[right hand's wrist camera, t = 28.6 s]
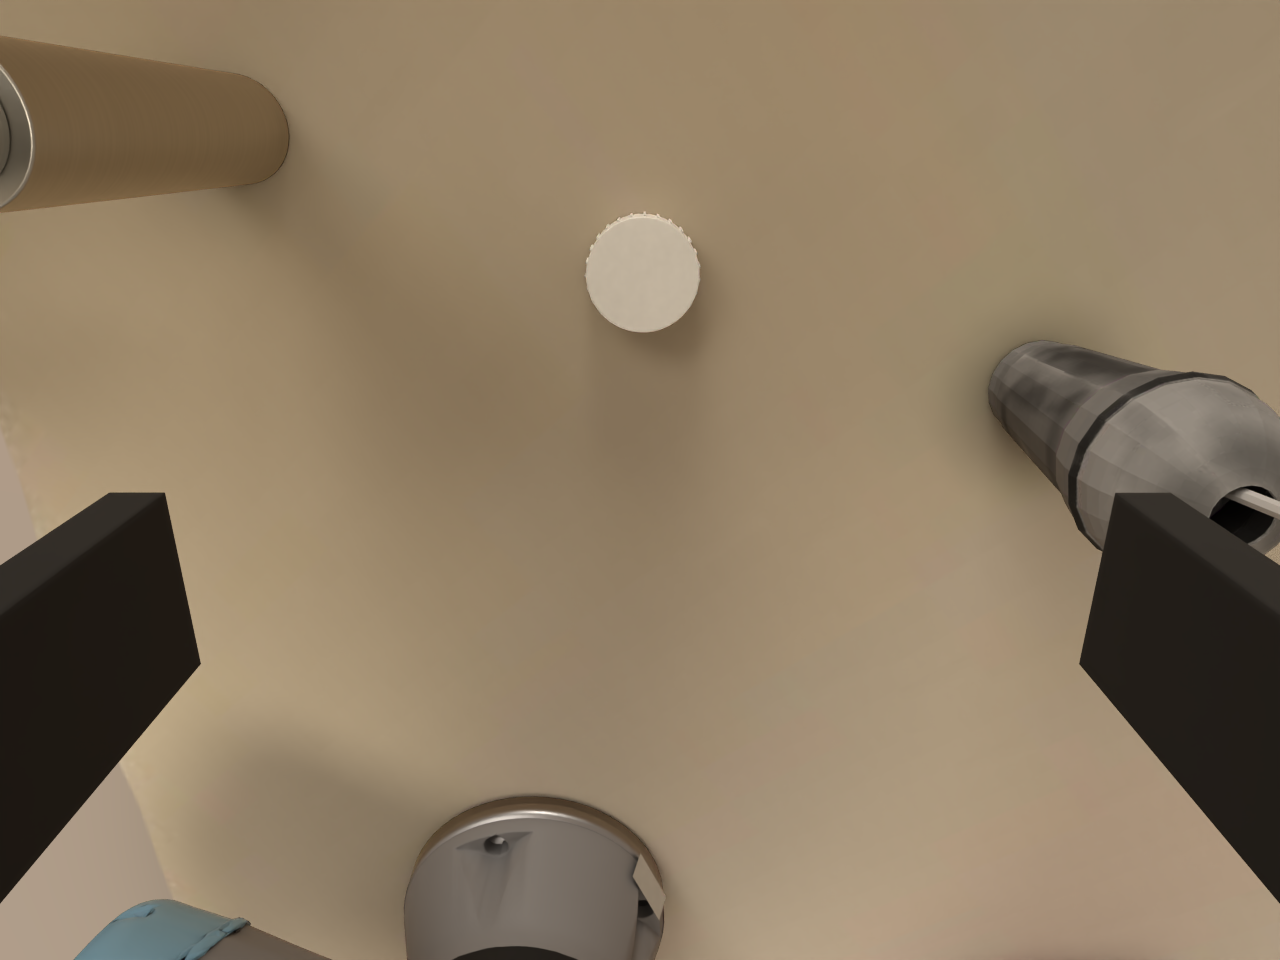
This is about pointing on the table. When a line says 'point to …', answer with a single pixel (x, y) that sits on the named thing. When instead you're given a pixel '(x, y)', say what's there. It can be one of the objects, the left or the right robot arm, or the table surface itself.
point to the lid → (642, 273)
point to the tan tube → (126, 127)
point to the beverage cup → (1142, 437)
